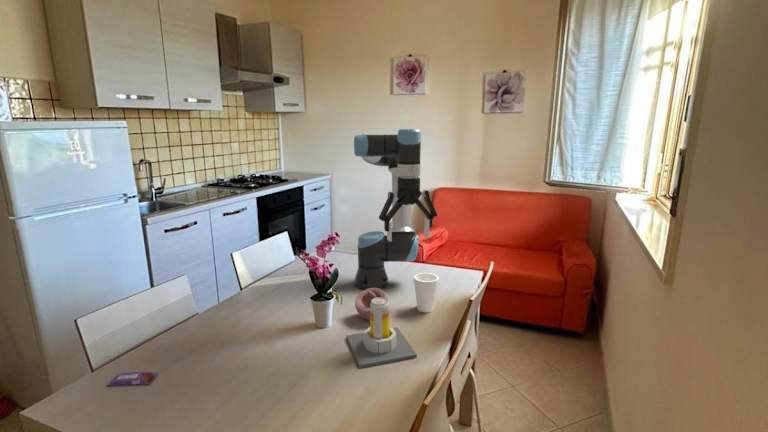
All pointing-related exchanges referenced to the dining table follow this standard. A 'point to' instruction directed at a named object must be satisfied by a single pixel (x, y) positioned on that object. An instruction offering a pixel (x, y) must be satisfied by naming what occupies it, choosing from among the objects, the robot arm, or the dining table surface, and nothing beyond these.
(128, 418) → the dining table surface
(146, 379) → the snack package
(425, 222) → the robot arm
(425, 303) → the foam cup
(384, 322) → the beer can
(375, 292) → the mortar and pestle
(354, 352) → the socket
